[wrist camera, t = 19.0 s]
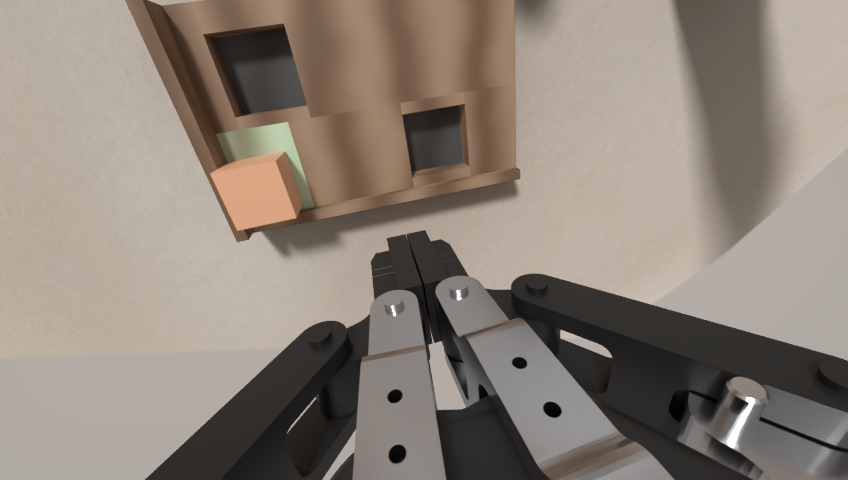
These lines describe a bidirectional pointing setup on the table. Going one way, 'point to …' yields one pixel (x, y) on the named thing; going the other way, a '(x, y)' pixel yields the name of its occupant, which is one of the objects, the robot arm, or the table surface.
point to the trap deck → (344, 93)
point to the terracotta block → (258, 190)
